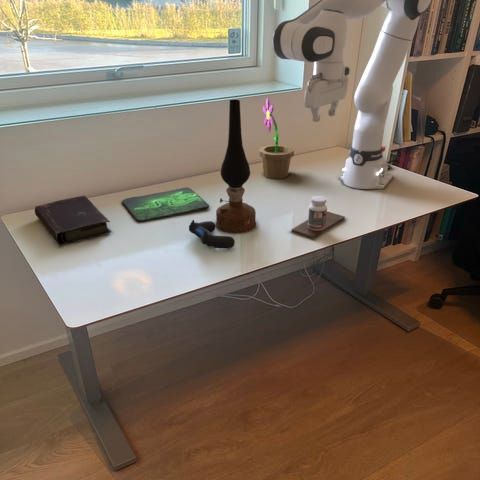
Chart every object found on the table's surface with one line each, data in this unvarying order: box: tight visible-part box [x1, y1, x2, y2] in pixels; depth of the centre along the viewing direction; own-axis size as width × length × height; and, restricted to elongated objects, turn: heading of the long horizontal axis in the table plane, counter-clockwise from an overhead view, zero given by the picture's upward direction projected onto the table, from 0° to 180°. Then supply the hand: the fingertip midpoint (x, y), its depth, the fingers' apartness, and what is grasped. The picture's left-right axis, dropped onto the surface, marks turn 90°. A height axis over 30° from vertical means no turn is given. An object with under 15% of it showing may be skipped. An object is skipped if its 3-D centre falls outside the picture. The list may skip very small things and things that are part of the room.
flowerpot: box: [258, 97, 295, 180], centre depth 202 cm, size 14×14×30 cm
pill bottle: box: [307, 195, 328, 231], centre depth 163 cm, size 6×6×10 cm
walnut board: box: [291, 211, 346, 240], centre depth 169 cm, size 20×8×1 cm, turn 141°
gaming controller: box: [188, 219, 236, 250], centre depth 158 cm, size 17×6×10 cm
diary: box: [34, 195, 112, 247], centre depth 168 cm, size 19×25×5 cm
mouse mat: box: [121, 187, 210, 223], centre depth 184 cm, size 27×22×1 cm
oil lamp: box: [215, 99, 257, 234], centre depth 161 cm, size 14×15×40 cm
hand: (323, 118), depth 163 cm, fingers open, 8 cm apart
